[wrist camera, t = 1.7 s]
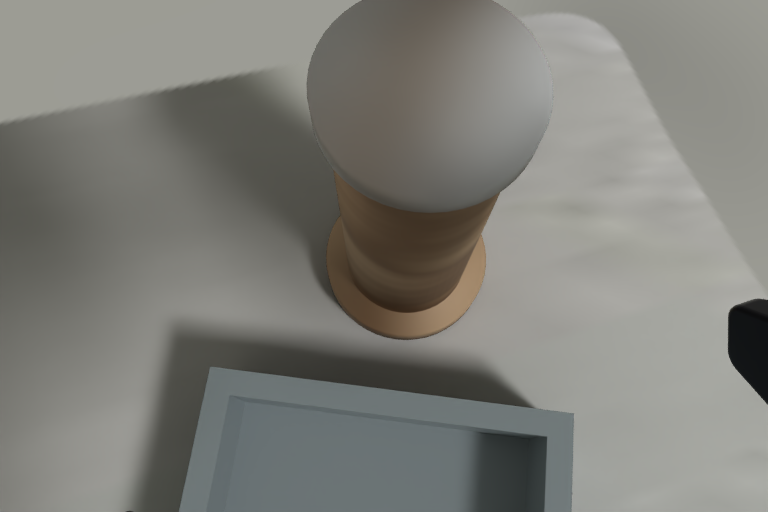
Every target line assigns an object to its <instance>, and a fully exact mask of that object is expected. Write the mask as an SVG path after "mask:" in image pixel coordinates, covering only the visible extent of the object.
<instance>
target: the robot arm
mask: <svg viewBox="0 0 768 512" xmlns="http://www.w3.org/2000/svg"><path fill="white" fill-rule="evenodd" d="M728 354H729V358H730V360H731V362H732V364H733V366H734V367H735V368H736V370H737V371H738V372H739V373H740V374H741V375H742V376H743V377H744V379H745V380H746V381H747V382H748V383H749V384H750V385H751V386H752V388H753V389H754V390H755V391H756V392H757V393H758V394H759V395H760V396H761V398H762V399H763V400H764V401H765V402H766V403H767V404H768V300H765V299H753V300H750V301H747V302H744V303H741V304H738V305H735V306H734V307H733V308H731V310H730V312H729V315H728ZM127 512H132V511H127Z"/></svg>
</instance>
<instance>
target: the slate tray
mask: <svg viewBox="0 0 768 512" xmlns="http://www.w3.org/2000/svg"><path fill="white" fill-rule="evenodd" d="M573 428H574V413H566V412H558V411H551V410H543V409H535V408H527V407H520V406H512V405H504V404H496V403H489V402H481V401H473V400H465V399H458V398H450V397H442V396H435V395H427V394H419V393H411V392H404V391H396V390H388V389H380V388H373V387H365V386H357V385H349V384H342V383H334V382H326V381H318V380H311V379H303V378H295V377H288V376H280V375H272V374H264V373H257V372H249V371H241V370H233V369H226V368H218V367H210V369H209V374H208V379H207V383H206V388H205V393H204V397H203V402H202V406H201V411H200V416H199V420H198V425H197V430H196V434H195V439H194V443H193V448H192V453H191V457H190V462H189V467H188V471H187V476H186V480H185V485H184V490H183V494H182V499H181V504H180V508H179V512H571V507H572V467H573Z"/></svg>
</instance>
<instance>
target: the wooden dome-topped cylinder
mask: <svg viewBox="0 0 768 512" xmlns="http://www.w3.org/2000/svg"><path fill="white" fill-rule="evenodd" d="M553 98H554V97H553V81H552V75H551V70H550V67H549V64H548V61H547V58H546V56H545V54H544V52H543V50H542V48H541V46H540V44H539V43H538V41H537V40H536V38H535V37H534V35H533V34H532V33H531V31H530V30H529V29H528V28H527V27H526V26H525V25H524V24H523V23H522V22H521V21H520V20H519V19H518V18H517V17H516V16H515V15H513V14H512V13H511V12H510V11H508V10H507V9H505V8H504V7H502V6H501V5H499V4H498V3H496V2H494V1H492V0H362V1H360V2H358V3H356V4H355V5H353V6H352V7H351V8H349V9H348V10H346V11H345V12H344V13H342V14H341V15H340V16H339V17H338V18H337V19H336V20H335V21H334V22H333V23H332V24H331V25H330V27H329V28H328V29H327V30H326V31H325V33H324V34H323V36H322V38H321V39H320V41H319V42H318V44H317V46H316V48H315V51H314V53H313V55H312V58H311V62H310V65H309V69H308V76H307V99H308V105H309V110H310V115H311V120H312V125H313V130H314V134H315V137H316V140H317V142H318V145H319V147H320V149H321V151H322V153H323V155H324V157H325V158H326V160H327V161H328V163H329V164H330V165H331V167H332V168H333V170H334V176H335V183H336V189H337V196H338V202H339V209H340V216H339V218H338V219H337V221H336V223H335V224H334V226H333V228H332V231H331V233H330V236H329V240H328V244H327V252H326V263H327V271H328V276H329V280H330V283H331V286H332V289H333V292H334V294H335V296H336V299H337V301H338V302H339V304H340V305H341V307H342V308H343V310H344V311H345V312H346V313H347V314H348V315H349V316H350V317H351V318H352V319H353V320H354V321H355V322H356V323H357V324H359V325H360V326H362V327H363V328H365V329H367V330H369V331H371V332H373V333H375V334H377V335H380V336H383V337H387V338H392V339H401V340H411V339H420V338H425V337H429V336H431V335H434V334H437V333H439V332H441V331H443V330H445V329H447V328H448V327H450V326H451V325H453V324H454V323H455V322H456V321H457V320H459V319H460V318H461V317H462V316H463V315H464V313H465V312H466V311H467V310H468V308H469V307H470V305H471V304H472V302H473V300H474V299H475V297H476V296H477V294H478V292H479V289H480V287H481V285H482V282H483V278H484V274H485V267H486V253H485V245H484V242H483V238H482V235H481V233H482V231H483V229H484V227H485V224H486V222H487V220H488V218H489V216H490V214H491V211H492V209H493V207H494V205H495V203H496V201H497V198H498V196H499V194H500V192H501V191H502V190H504V189H505V188H506V187H508V186H509V185H510V184H511V183H512V182H513V181H515V180H516V178H517V177H518V176H519V175H520V174H521V173H522V172H523V170H524V169H525V168H526V166H527V165H528V163H529V162H530V160H531V159H532V157H533V155H534V153H535V151H536V149H537V147H538V145H539V143H540V141H541V139H542V137H543V135H544V133H545V131H546V129H547V126H548V124H549V120H550V116H551V113H552V106H553Z"/></svg>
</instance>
